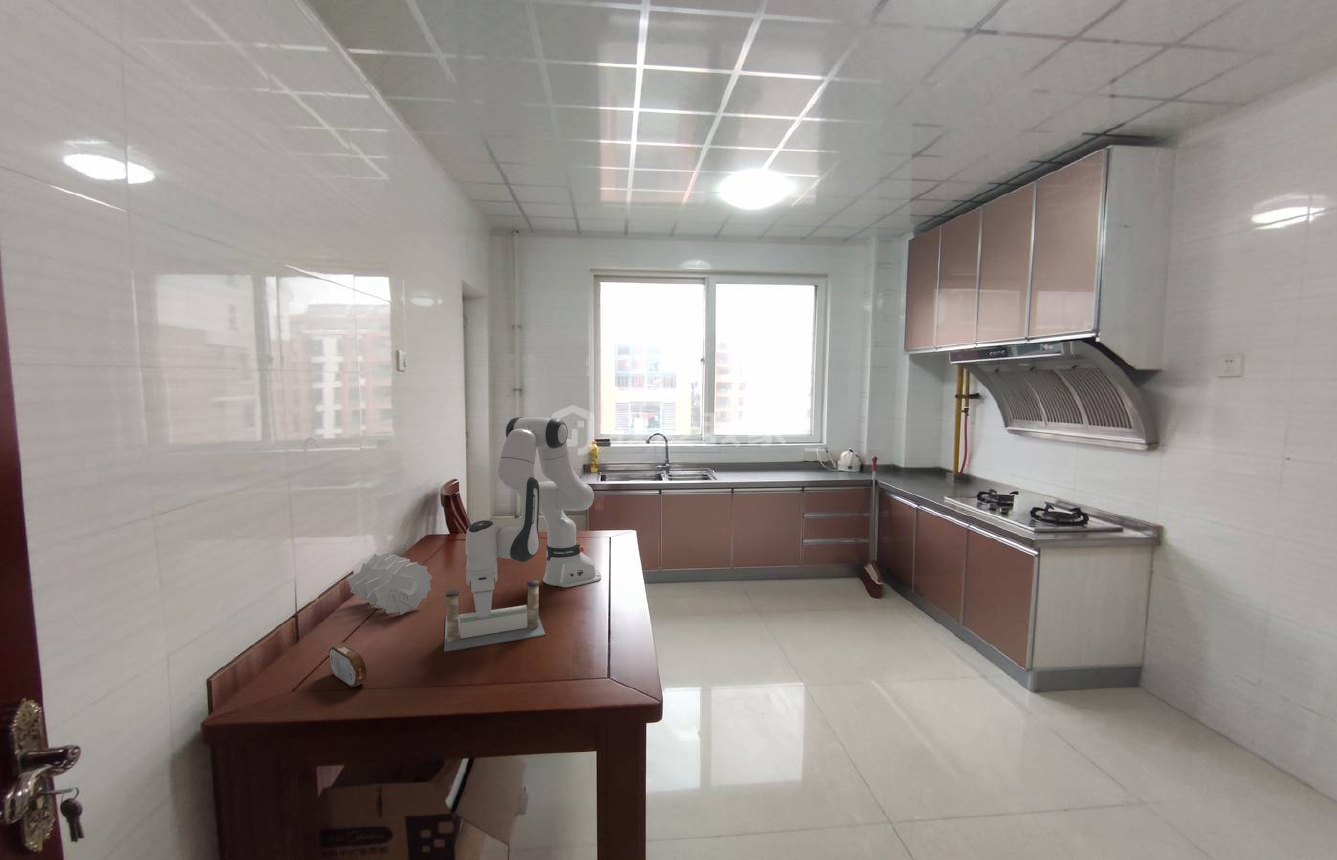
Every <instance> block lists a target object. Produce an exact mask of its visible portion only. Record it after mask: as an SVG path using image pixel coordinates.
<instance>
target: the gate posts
mask: <svg viewBox="0 0 1337 860" xmlns="http://www.w3.org/2000/svg"><path fill="white" fill-rule="evenodd" d="M526 586H527V605H528V629H536V628H538V616H539V586H540V581H539V579H538V580H537V579H531V580H528V581H527V582H526ZM459 593H460V592H459V589H458V588H457V589H448V590H446V591H445V598H446V616H447V643H448V642H454V641H459V634H458V615H459Z"/></svg>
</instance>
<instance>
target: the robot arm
mask: <svg viewBox="0 0 1337 860" xmlns="http://www.w3.org/2000/svg"><path fill="white" fill-rule="evenodd" d="M568 433H569V431H568V427H567V425H566V423H565V422H564V421H563V419H559V418H556V417H553V418H550V417H545V416H544V417H543V416H529V417H528V416H527V417H524V416H518V417H514V418H511V419H510V420H509V421H508V423H507V424H506V427H505V438H506V439H505V441H504V444H503V447H502V449H501V450H502V451H501V453H500V458H499V462H498V467H497V476H498V478H499V480H500V481H501V483H502V484H503V485H504V486H505V487H507V488H509V489H511V490H512V491H513V492H515V493H517V494H518V496H519V497H520V500H521V514H520V515H521V516H520V526H519V527H514V526H513V527H512V526H506V525H498V524H495V523H494V522H493V521H491V520H488V519H485V520H479V521H475V522H473V523H472V524H469V526H468V528H467V531H466V535H465V556H466V566H465V575H466V577H465V578H466V582H465V583H466V584H467V585H468V587H469V589H470V592H471V593H472V595H473V602H474V609H475V612H476V615H477V618H486V617H489V616H490V614H491V610H492V602H493V590H495V589H496V588H495V587H496V583H497V581H498V561H497V559H498V558H502V559H507V560H508V559H510V560H514V561H517V562H521V563H526V562H528V561H530V560H531V559H533V558H534V557H535V556H536V554H537V553H538V552H539V548H540V535H539V515H540V514H541V516H542V517H543V519H544V521H545V525H546V533H547V534H546V536H547V544H546V548H545V558H546V567H545V573H544V576H543V579H542V580H543V581H542V582H543V583H545V584H547V585H549V586H554V587H555V586H558V587H560V588H570V587H576V586H580V585H585V584H589V583H595V582H599V581H601V580H602V574H601V572H600V571H599V570H597V569H596V566H595V562H594V561H593V560H592V559H591V558H590V557H589V556H587V555H586V554H584V553H583V552H584V551H585V547H584V546H583V545H581V543H578V542H577V526H576V524H575V522H574V521H573V520H572V519H570V518H569V517H567V515H566V513H565V511H571V512H572V511H573V512H579V511H587V510H588V509H590V507H592V506H593V503H594V499H595V494H594V490H593V488H592V487H591V486H590V485H589V484H587V483H586V482H585V481H583V480H582V479H581V478H580V477H579V476H578V474H577V473H576V472H575V470H574V468H573V465H572V462H571V457H570V452H569V448H568V443H567V440H568V436H569V435H568ZM537 454H538V458H539V463H540V467H541V468H540V469H541V472H542V475H544V477H546V478H547V479H548V480H547V481H538V480H537V478H535V474H534V473H535V472H534V471H535V470H534V468H535V461H536V456H537ZM549 480H550V481H549ZM539 512H540V513H539Z"/></svg>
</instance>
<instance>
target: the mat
mask: <svg viewBox="0 0 1337 860" xmlns="http://www.w3.org/2000/svg"><path fill="white" fill-rule="evenodd" d="M525 605H526V606H527V628H522V629H515V630H509V631H503V632H497V633H491V634H485V635H479V636H473V637H467V638H461V639H460V615H462V614H463V613H461V614H460V613H458V634H459V641H454V642H448V643H447V615H446V616H445V624H444V625H445V626H444V628H445V629H444V645H443V646H444V648H443V651H444V653H446V652H447V653H448V652H451V651H452V652H453V651H459V650H464V649H471V648H476V647H482V646H489V645H493V644H494V645H495V644H501V643H502V644H503V643H506V642H514V641H519V640H526V639H532V638H537V637H544V636H545V637H546V632H545V629H544V627H543V624H542V621H541V619H540V616H539V615H538V628H536V629H528V604H525ZM494 610H496V609H494ZM469 613H470V612H467V613H465V614H469ZM473 613H476V611H475V612H474V611H473Z"/></svg>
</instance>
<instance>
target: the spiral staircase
mask: <svg viewBox="0 0 1337 860" xmlns="http://www.w3.org/2000/svg"><path fill="white" fill-rule="evenodd" d="M432 579H433V576H432V575H431V574H430V573H429V571H428V566H426V565H421V564H419V562H418V561H416V562H411V559H410V558H409V559H407V557H401V556H400V555H397V554H394V555H393V554H390V552H389V551H387V552H384V553H381V554H378V555H377V553H374V554H373V556H371V558H369V559H368V560H367V561H366V562H363V563H362V565H361V569H360V570H359V571H358V572H356V573H354V574H352V575H351V576H349V577H347V578H346V580H347V582H348V584H349V587H350V591H349V592H350V593H352V594H354V595H355V596H358V597H359V601H368V602H369V605H370V606H371V605H375V607H374V608H375V609H385V610H386V611H385V614H396V613H397V614H398V613H399V615H400V616H402V615H404V614H405V613H407V612H408V611H410V610H412V609H414V610H416V609H417V607H418V606H419V605H420V603H421V602H422V600H423V599H427V597H428V594H429V593H428V592H432V590H431V580H432Z"/></svg>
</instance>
